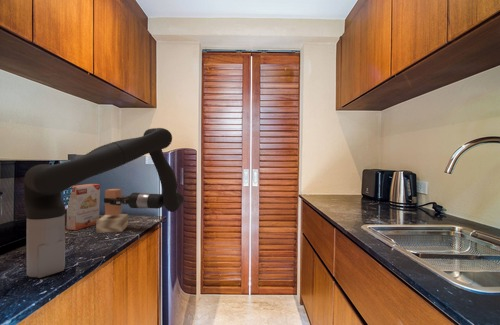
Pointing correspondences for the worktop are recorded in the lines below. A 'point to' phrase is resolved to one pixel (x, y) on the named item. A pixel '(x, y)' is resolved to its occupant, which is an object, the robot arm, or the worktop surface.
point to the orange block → (108, 207)
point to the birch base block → (112, 223)
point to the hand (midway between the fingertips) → (108, 199)
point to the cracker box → (83, 206)
